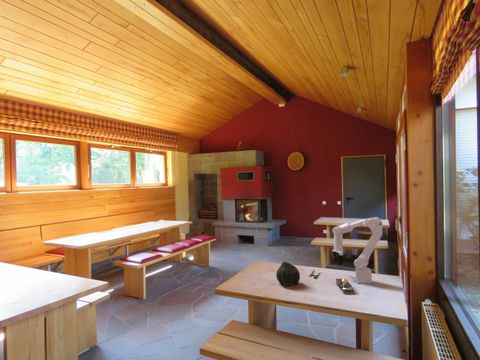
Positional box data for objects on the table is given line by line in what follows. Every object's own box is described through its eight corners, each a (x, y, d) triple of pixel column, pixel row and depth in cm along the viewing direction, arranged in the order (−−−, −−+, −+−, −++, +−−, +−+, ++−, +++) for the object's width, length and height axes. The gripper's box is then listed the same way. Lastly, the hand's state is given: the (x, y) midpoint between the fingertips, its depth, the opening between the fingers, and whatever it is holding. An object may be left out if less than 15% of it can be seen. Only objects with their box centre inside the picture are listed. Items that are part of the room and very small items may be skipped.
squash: (305, 279, 187) (297, 257, 196) (283, 282, 183) (276, 260, 192) (298, 288, 197) (290, 267, 206) (277, 292, 193) (270, 270, 202)
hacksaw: (316, 279, 203) (316, 277, 203) (301, 277, 208) (301, 275, 208) (323, 270, 224) (323, 268, 224) (310, 268, 229) (310, 266, 229)
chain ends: (345, 284, 193) (345, 278, 193) (354, 294, 176) (354, 288, 176) (335, 284, 193) (335, 278, 193) (343, 294, 176) (343, 288, 176)
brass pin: (346, 288, 185) (346, 278, 185) (347, 289, 183) (347, 279, 183) (342, 288, 186) (342, 278, 186) (343, 289, 183) (342, 279, 183)
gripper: (329, 241, 215) (329, 260, 215) (335, 245, 201) (335, 266, 201) (339, 241, 215) (339, 260, 215) (346, 245, 200) (346, 266, 200)
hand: (338, 263), depth 208 cm, fingers open, 7 cm apart
